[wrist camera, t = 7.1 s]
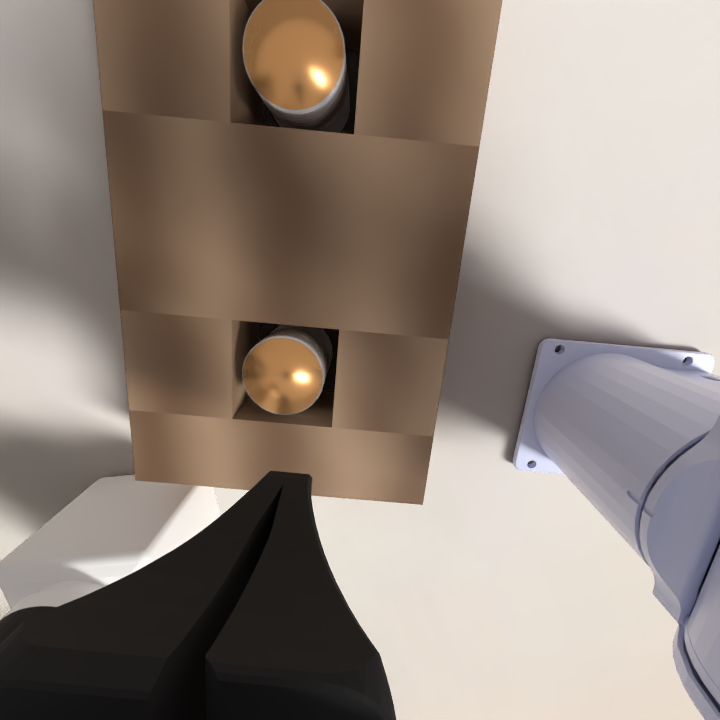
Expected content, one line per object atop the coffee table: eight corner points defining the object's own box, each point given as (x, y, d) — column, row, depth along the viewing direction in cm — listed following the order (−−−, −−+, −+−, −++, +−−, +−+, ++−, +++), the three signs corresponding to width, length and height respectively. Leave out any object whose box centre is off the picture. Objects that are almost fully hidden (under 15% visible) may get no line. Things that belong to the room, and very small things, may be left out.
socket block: (482, -40, 16) (526, -150, 12) (411, 456, 22) (422, 504, 18) (155, -73, 16) (75, -199, 11) (179, 436, 22) (135, 480, 18)
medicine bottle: (99, 475, 23) (-169, 696, 11) (210, 465, 23) (52, 680, 11) (130, 567, 25) (-71, 836, 13) (233, 559, 25) (119, 826, 13)
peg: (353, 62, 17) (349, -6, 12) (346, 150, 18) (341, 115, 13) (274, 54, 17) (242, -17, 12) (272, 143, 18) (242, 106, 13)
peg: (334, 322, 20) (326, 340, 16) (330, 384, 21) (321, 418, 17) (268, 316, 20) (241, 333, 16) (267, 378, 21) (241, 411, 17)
